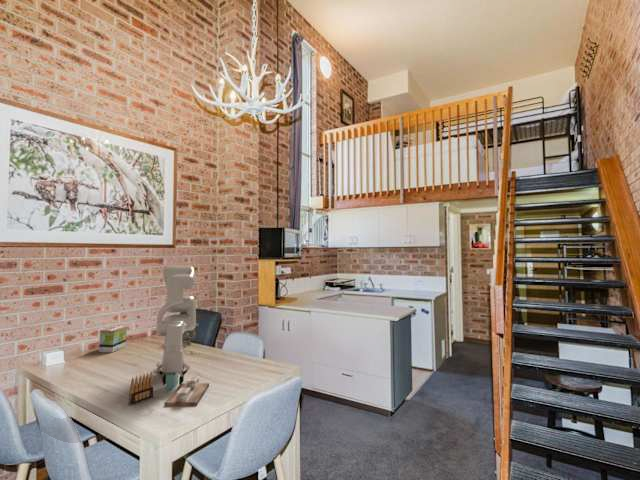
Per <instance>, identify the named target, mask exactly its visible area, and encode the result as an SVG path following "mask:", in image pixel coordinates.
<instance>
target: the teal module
mask: <svg viewBox="0 0 640 480" xmlns="http://www.w3.org/2000/svg"><path fill="white" fill-rule="evenodd" d="M178 386H179V372H174V373H168V374H166V384H165V390H175V388H177V387H178Z"/></svg>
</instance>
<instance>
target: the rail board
mask: <svg viewBox="0 0 640 480" xmlns="http://www.w3.org/2000/svg"><path fill="white" fill-rule="evenodd" d="M209 386H210V383H208V382H204V383H203V382H200V376H189V377H188V379H187V380H186V382H185V383H184V382H182V384H181V385H180V384H178V385H177V387H176V389H174V391H173V392H172V394H171V395H170V396H169V397H168V398H167V399H166V401H164V404H163V405H164V406H163V407H186V406H187V407H190V406H191V407H193V406H194V407H195V406H198V404H199V403H200V401H201V400H202V399H203V398H202V397H204V395H205V393H206V391H207V390H208V389H209Z"/></svg>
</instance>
